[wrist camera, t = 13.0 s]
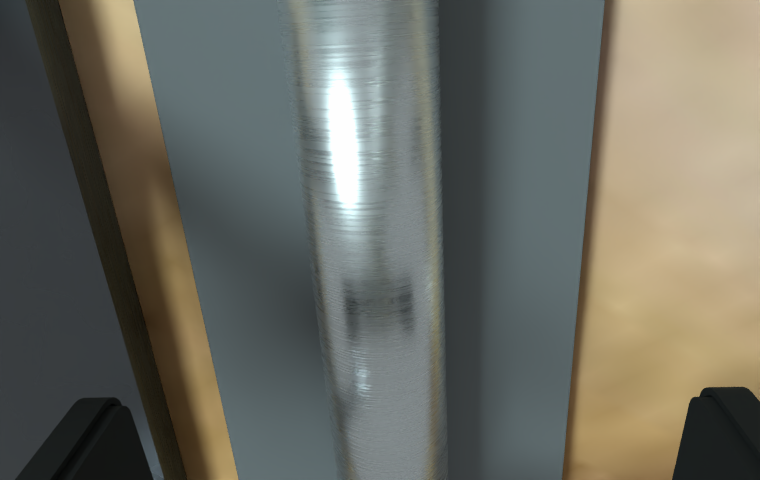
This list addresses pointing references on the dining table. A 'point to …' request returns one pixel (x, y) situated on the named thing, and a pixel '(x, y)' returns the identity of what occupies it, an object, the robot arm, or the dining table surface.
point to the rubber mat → (460, 225)
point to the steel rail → (374, 225)
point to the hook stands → (63, 257)
